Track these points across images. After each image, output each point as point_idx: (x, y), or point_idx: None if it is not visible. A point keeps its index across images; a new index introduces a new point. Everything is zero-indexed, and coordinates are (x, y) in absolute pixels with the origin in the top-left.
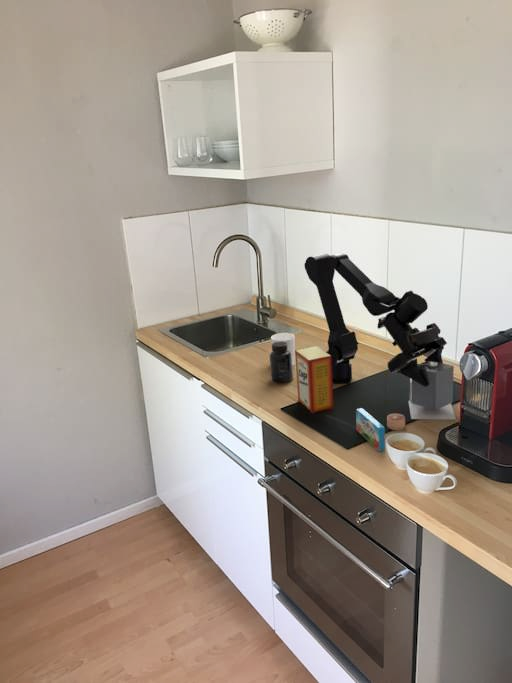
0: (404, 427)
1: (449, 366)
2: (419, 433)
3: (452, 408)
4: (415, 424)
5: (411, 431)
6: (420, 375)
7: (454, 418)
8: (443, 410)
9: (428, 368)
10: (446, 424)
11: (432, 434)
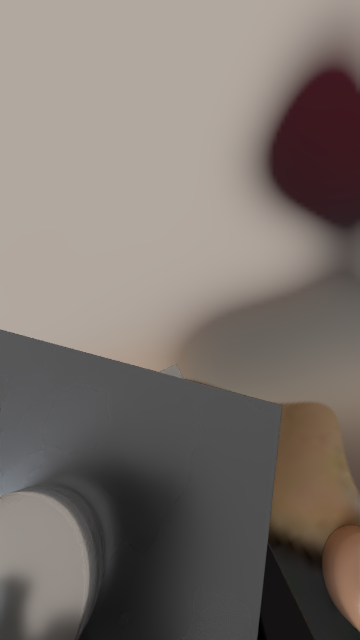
0: (355, 528)
1: (3, 349)
2: (331, 450)
3: None
4: (277, 499)
5: (339, 488)
6: (312, 634)
7: (173, 369)
8: None
9: (161, 591)
10: (212, 386)
11: (306, 403)
